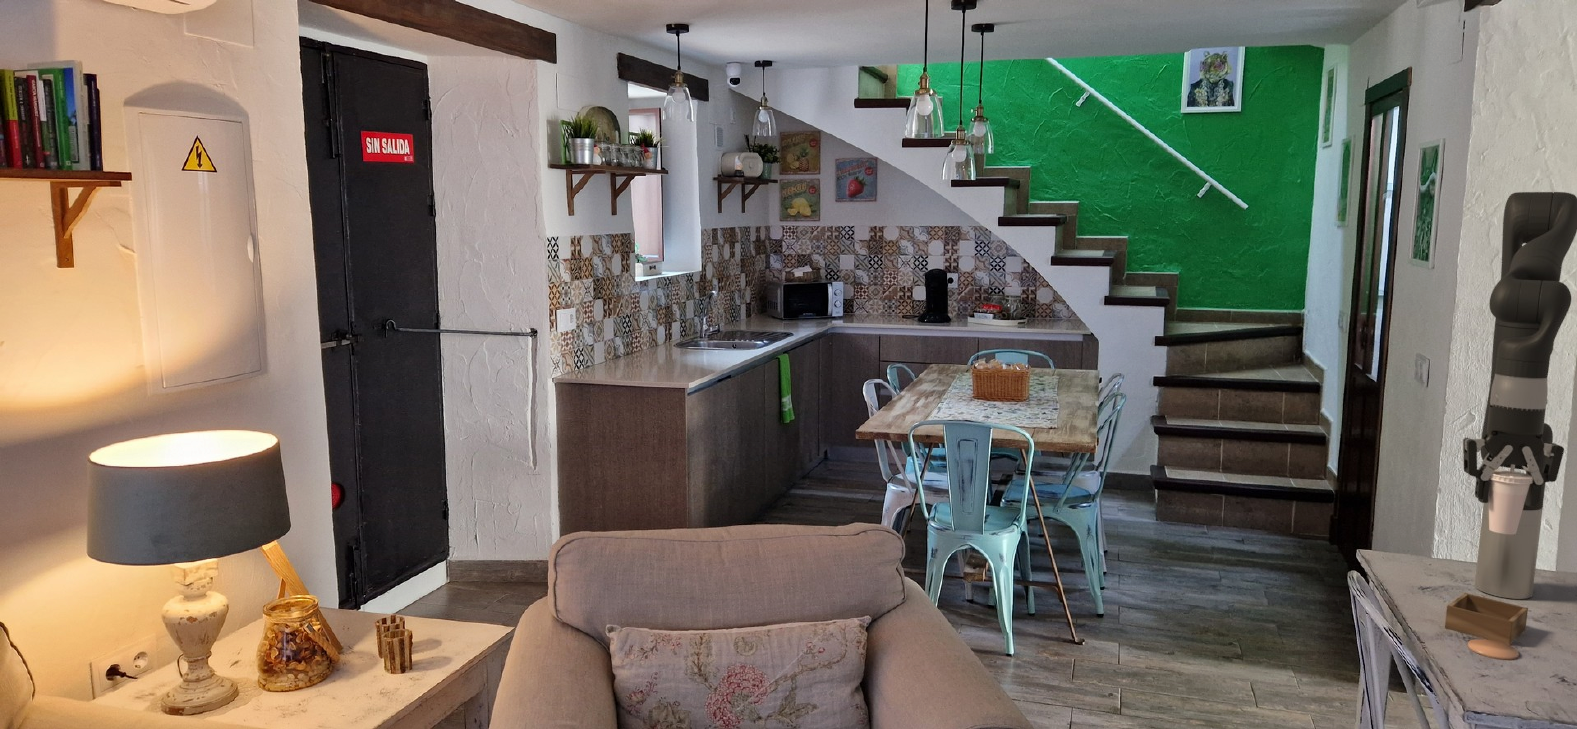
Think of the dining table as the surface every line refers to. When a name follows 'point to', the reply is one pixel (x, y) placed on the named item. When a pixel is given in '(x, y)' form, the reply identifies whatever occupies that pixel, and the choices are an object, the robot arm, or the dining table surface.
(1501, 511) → the smoothie
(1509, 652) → the coaster
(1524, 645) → the dining table surface
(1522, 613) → the caddy
